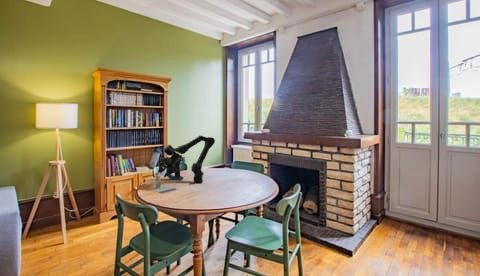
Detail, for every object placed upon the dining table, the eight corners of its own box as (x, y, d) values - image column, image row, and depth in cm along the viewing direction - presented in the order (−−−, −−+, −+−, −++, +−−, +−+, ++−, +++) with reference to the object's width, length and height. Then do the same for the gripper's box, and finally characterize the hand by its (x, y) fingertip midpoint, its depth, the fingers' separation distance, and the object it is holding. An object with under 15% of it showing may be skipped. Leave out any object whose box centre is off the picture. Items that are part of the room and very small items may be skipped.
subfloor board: (147, 190, 191) (147, 188, 191) (164, 186, 202) (164, 184, 202) (163, 196, 178) (163, 193, 178) (180, 191, 189) (180, 189, 189)
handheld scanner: (183, 180, 219) (183, 157, 218) (166, 179, 223) (165, 156, 221) (186, 179, 224) (185, 156, 222) (168, 178, 227) (168, 155, 226)
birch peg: (161, 186, 195) (161, 172, 194) (159, 188, 191) (159, 173, 190) (156, 186, 195) (156, 172, 194) (154, 188, 192) (154, 173, 191)
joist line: (173, 188, 191) (173, 188, 191) (177, 189, 189) (177, 189, 189) (158, 192, 182) (158, 192, 182) (162, 193, 179) (162, 193, 179)
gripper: (160, 151, 203) (147, 167, 196) (173, 154, 191) (160, 171, 184) (168, 160, 210) (156, 176, 202) (182, 163, 197) (170, 180, 190)
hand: (160, 176), depth 194 cm, fingers open, 9 cm apart
